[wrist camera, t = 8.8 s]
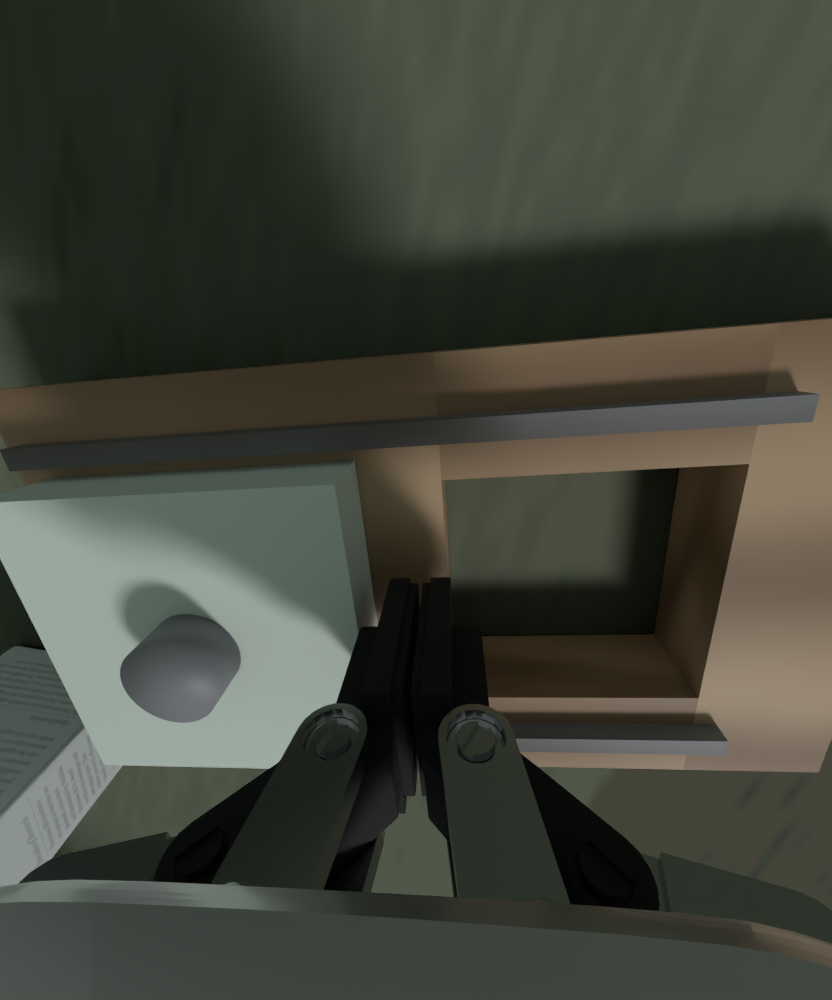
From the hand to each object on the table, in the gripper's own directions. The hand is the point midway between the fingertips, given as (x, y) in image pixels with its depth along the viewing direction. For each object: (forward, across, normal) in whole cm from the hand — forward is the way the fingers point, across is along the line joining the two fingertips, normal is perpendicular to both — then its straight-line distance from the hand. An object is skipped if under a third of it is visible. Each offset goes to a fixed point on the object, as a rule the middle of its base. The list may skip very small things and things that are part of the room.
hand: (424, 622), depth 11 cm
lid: (+1, +6, 0) cm, 6 cm away
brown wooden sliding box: (+4, 0, 0) cm, 4 cm away
